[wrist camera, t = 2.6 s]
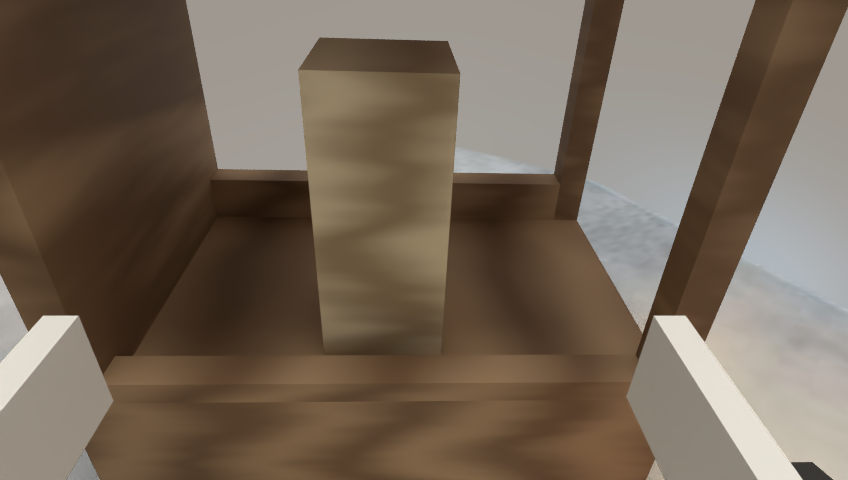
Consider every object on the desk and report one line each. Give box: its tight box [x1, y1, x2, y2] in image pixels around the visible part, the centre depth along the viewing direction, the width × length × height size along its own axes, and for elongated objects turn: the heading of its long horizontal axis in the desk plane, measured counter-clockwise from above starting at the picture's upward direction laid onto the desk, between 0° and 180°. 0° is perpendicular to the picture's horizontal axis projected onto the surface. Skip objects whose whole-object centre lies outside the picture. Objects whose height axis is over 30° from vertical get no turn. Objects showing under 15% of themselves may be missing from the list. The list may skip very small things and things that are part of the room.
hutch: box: [0, 0, 848, 480], centre depth 24 cm, size 24×16×26 cm, turn 92°
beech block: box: [298, 38, 460, 355], centre depth 21 cm, size 5×5×12 cm
